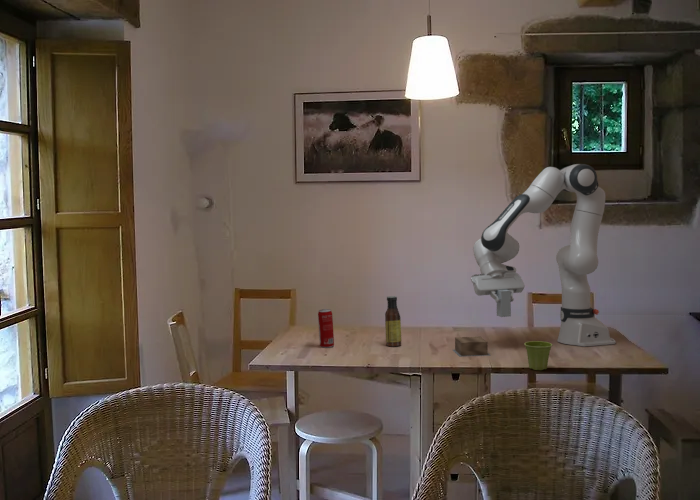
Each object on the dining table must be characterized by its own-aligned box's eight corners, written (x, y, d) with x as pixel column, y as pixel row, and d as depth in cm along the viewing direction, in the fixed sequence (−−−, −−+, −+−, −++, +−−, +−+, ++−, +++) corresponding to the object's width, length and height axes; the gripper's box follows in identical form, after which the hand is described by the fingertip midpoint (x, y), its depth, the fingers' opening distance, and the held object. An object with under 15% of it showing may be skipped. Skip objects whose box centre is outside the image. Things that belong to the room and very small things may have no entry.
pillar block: (506, 314, 288) (505, 289, 287) (510, 316, 284) (510, 290, 283) (496, 315, 287) (496, 290, 286) (501, 317, 283) (501, 291, 282)
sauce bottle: (404, 345, 297) (404, 296, 295) (394, 347, 292) (394, 298, 291) (392, 343, 301) (391, 295, 300) (382, 345, 297) (381, 296, 295)
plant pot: (552, 372, 251) (553, 347, 250) (524, 371, 253) (524, 346, 252) (551, 365, 260) (551, 341, 259) (523, 364, 262) (523, 340, 261)
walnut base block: (480, 349, 286) (480, 336, 286) (487, 354, 276) (487, 341, 276) (455, 350, 285) (455, 337, 285) (461, 355, 275) (461, 342, 275)
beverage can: (336, 345, 298) (335, 309, 297) (329, 348, 292) (328, 311, 291) (323, 344, 301) (322, 308, 299) (316, 347, 295) (315, 310, 293)
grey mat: (482, 349, 287) (482, 348, 287) (490, 356, 275) (490, 355, 275) (451, 350, 286) (451, 349, 286) (459, 357, 274) (459, 356, 274)
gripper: (471, 270, 287) (483, 298, 279) (518, 267, 293) (531, 294, 284) (467, 280, 292) (478, 308, 283) (513, 276, 297) (525, 304, 289)
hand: (505, 301), depth 284 cm, fingers closed on pillar block, 4 cm apart
